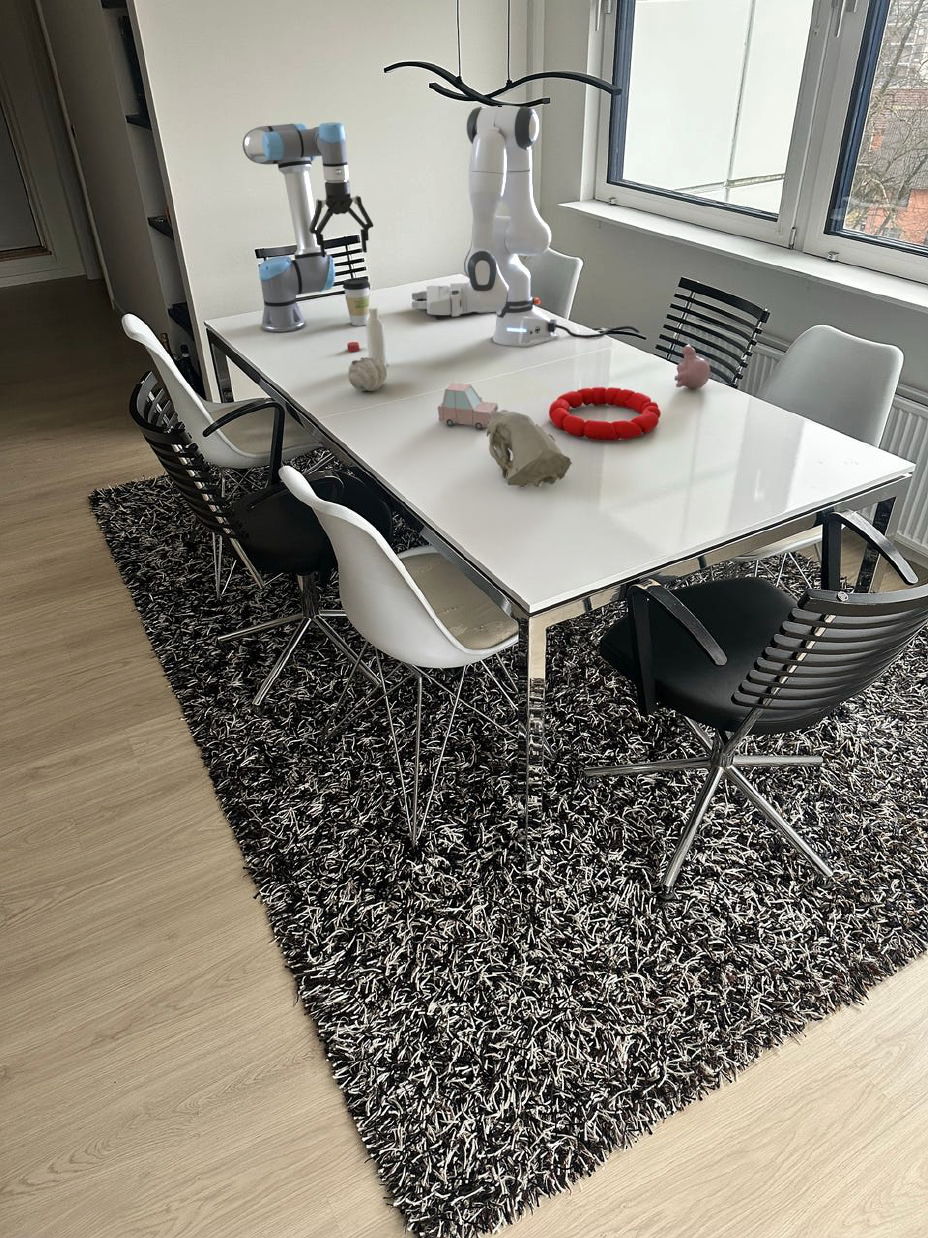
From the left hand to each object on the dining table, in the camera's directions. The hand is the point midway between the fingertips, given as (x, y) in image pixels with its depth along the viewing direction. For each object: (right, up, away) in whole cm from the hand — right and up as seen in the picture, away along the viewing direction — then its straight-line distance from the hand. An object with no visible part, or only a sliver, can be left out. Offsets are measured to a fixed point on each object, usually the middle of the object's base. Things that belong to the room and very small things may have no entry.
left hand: (344, 254), depth 284 cm
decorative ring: (+77, -63, -40) cm, 107 cm away
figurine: (+105, -49, -21) cm, 118 cm away
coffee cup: (0, -8, +43) cm, 44 cm away
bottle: (+11, -35, +4) cm, 36 cm away
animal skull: (+52, -80, -64) cm, 115 cm away
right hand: (+22, -17, -8) cm, 29 cm away
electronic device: (+38, +2, +55) cm, 67 cm away
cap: (+1, -24, +16) cm, 29 cm away
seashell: (+10, -47, -15) cm, 51 cm away
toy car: (+40, -63, -38) cm, 83 cm away
